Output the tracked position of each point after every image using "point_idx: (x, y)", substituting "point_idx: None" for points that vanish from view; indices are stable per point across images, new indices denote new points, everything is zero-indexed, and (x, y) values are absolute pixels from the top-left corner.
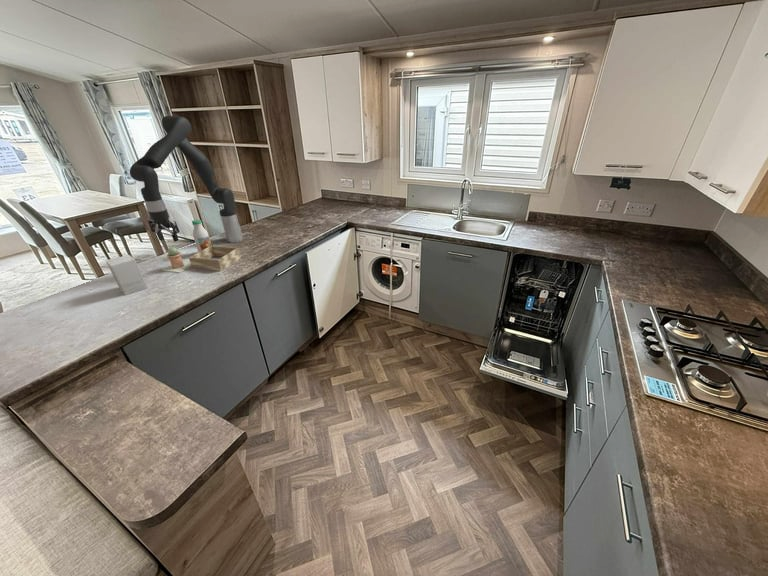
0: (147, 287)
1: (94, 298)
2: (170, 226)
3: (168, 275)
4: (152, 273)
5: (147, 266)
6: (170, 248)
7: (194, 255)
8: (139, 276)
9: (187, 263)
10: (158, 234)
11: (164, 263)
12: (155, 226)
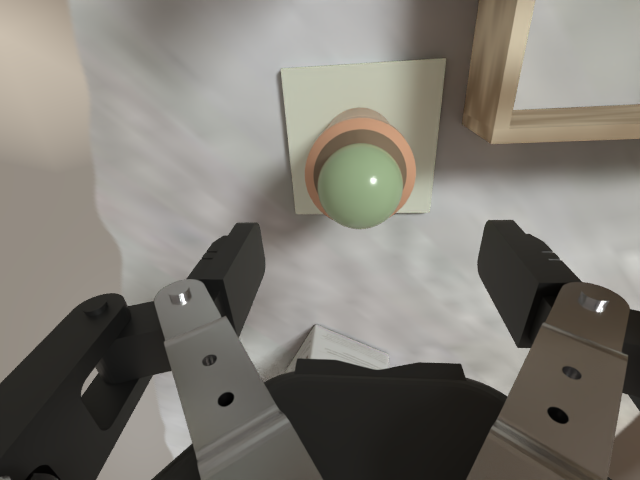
0: (388, 355)
1: None
2: (566, 422)
3: (383, 247)
4: (275, 246)
5: (155, 181)
6: (364, 217)
7: (517, 81)
8: None
9: (385, 79)
10: (240, 328)
11: (206, 114)
12: (76, 390)
